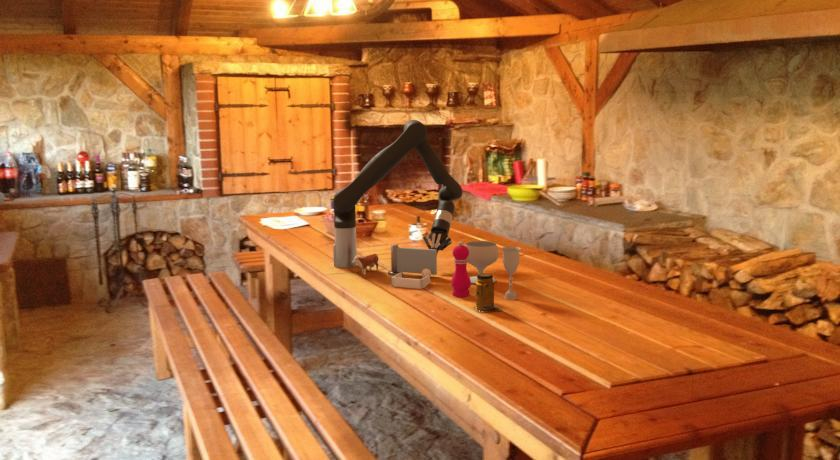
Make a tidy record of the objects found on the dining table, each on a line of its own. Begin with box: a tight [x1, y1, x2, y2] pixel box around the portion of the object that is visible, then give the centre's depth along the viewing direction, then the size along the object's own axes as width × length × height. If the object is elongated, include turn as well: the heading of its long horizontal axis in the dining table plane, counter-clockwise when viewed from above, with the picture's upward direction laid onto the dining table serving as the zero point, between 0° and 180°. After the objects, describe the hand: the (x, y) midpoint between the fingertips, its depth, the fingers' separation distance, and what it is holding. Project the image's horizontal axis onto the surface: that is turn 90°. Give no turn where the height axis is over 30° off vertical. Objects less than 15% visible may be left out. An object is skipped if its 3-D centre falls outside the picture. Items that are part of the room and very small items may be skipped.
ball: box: [420, 268, 432, 278], centre depth 285 cm, size 4×4×4 cm
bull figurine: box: [352, 253, 379, 276], centre depth 296 cm, size 4×13×8 cm, turn 137°
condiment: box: [475, 272, 503, 313], centre depth 241 cm, size 7×8×12 cm
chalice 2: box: [501, 246, 521, 301], centre depth 254 cm, size 7×7×18 cm
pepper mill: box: [450, 240, 472, 298], centre depth 258 cm, size 7×7×20 cm
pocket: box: [390, 272, 431, 290], centre depth 275 cm, size 13×9×4 cm
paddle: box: [390, 243, 438, 276], centre depth 290 cm, size 20×3×11 cm, turn 69°
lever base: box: [387, 270, 400, 277], centre depth 294 cm, size 6×6×1 cm
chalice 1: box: [464, 240, 500, 285], centre depth 278 cm, size 14×14×15 cm
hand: (432, 257), depth 294 cm, fingers closed
